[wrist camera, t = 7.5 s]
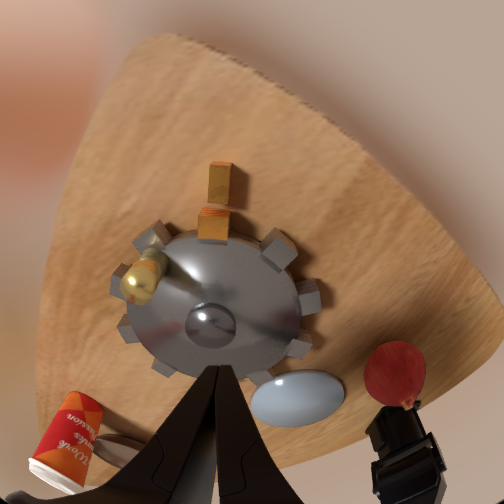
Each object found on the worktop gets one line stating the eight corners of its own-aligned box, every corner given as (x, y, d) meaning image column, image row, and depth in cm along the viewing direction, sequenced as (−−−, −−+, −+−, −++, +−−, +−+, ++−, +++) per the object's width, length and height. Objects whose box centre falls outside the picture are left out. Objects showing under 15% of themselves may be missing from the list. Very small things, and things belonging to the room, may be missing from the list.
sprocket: (174, 162, 17) (145, 175, 12) (357, 284, 21) (383, 327, 16) (97, 321, 22) (72, 361, 17) (242, 395, 26) (241, 439, 21)
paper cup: (119, 423, 31) (94, 504, 18) (79, 415, 31) (50, 486, 18) (94, 388, 28) (55, 479, 15) (53, 381, 28) (13, 458, 15)
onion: (417, 328, 24) (454, 385, 16) (386, 369, 26) (411, 427, 19) (375, 317, 23) (411, 383, 16) (343, 362, 25) (365, 428, 18)
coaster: (354, 368, 25) (357, 374, 25) (328, 420, 30) (329, 425, 29) (256, 368, 25) (256, 374, 24) (247, 421, 29) (247, 426, 28)
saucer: (167, 472, 39) (165, 484, 37) (93, 446, 37) (89, 457, 34) (182, 448, 33) (179, 463, 31) (89, 414, 31) (83, 428, 29)
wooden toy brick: (284, 168, 18) (287, 171, 16) (259, 345, 24) (260, 358, 22) (163, 159, 18) (155, 162, 16) (169, 336, 24) (164, 348, 22)
